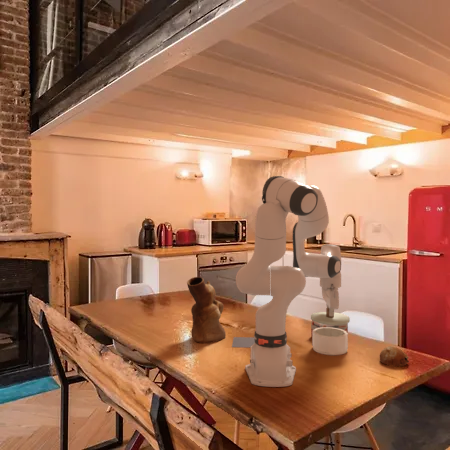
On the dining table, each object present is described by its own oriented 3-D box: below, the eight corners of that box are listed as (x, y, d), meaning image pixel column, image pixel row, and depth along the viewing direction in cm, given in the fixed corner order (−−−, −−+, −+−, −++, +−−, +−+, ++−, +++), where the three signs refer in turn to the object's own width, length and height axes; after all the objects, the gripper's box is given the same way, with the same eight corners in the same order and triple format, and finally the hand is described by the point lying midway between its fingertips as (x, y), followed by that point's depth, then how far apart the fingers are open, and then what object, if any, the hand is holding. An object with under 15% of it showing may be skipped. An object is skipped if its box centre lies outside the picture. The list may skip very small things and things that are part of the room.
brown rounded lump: (389, 365, 166) (381, 346, 167) (413, 360, 159) (404, 340, 161) (381, 373, 158) (372, 352, 160) (406, 367, 152) (397, 346, 154)
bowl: (350, 355, 167) (350, 337, 166) (315, 354, 168) (315, 336, 168) (343, 344, 181) (343, 327, 181) (310, 343, 182) (310, 327, 182)
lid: (353, 325, 165) (353, 314, 165) (313, 324, 167) (313, 313, 166) (345, 314, 181) (345, 304, 181) (308, 314, 183) (308, 303, 182)
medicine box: (320, 342, 185) (320, 324, 185) (310, 336, 192) (310, 320, 192) (348, 338, 190) (348, 321, 190) (337, 333, 198) (337, 316, 198)
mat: (264, 348, 176) (264, 347, 176) (231, 347, 177) (231, 347, 177) (263, 338, 190) (263, 337, 190) (233, 337, 191) (233, 337, 191)
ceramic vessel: (232, 337, 191) (231, 274, 190) (204, 350, 173) (203, 280, 172) (205, 332, 200) (205, 271, 199) (176, 344, 182) (175, 277, 181)
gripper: (342, 287, 163) (342, 321, 163) (333, 278, 183) (333, 308, 184) (326, 287, 163) (326, 321, 164) (319, 277, 184) (319, 308, 184)
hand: (330, 314), depth 174 cm, fingers closed on lid, 3 cm apart
